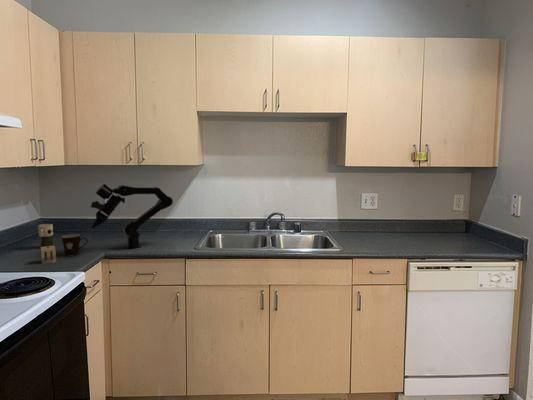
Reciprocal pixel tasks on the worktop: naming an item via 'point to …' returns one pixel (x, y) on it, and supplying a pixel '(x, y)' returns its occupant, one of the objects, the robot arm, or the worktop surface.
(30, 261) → the worktop surface
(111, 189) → the robot arm
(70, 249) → the coffee mug
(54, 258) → the numbered maple block
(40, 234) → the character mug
